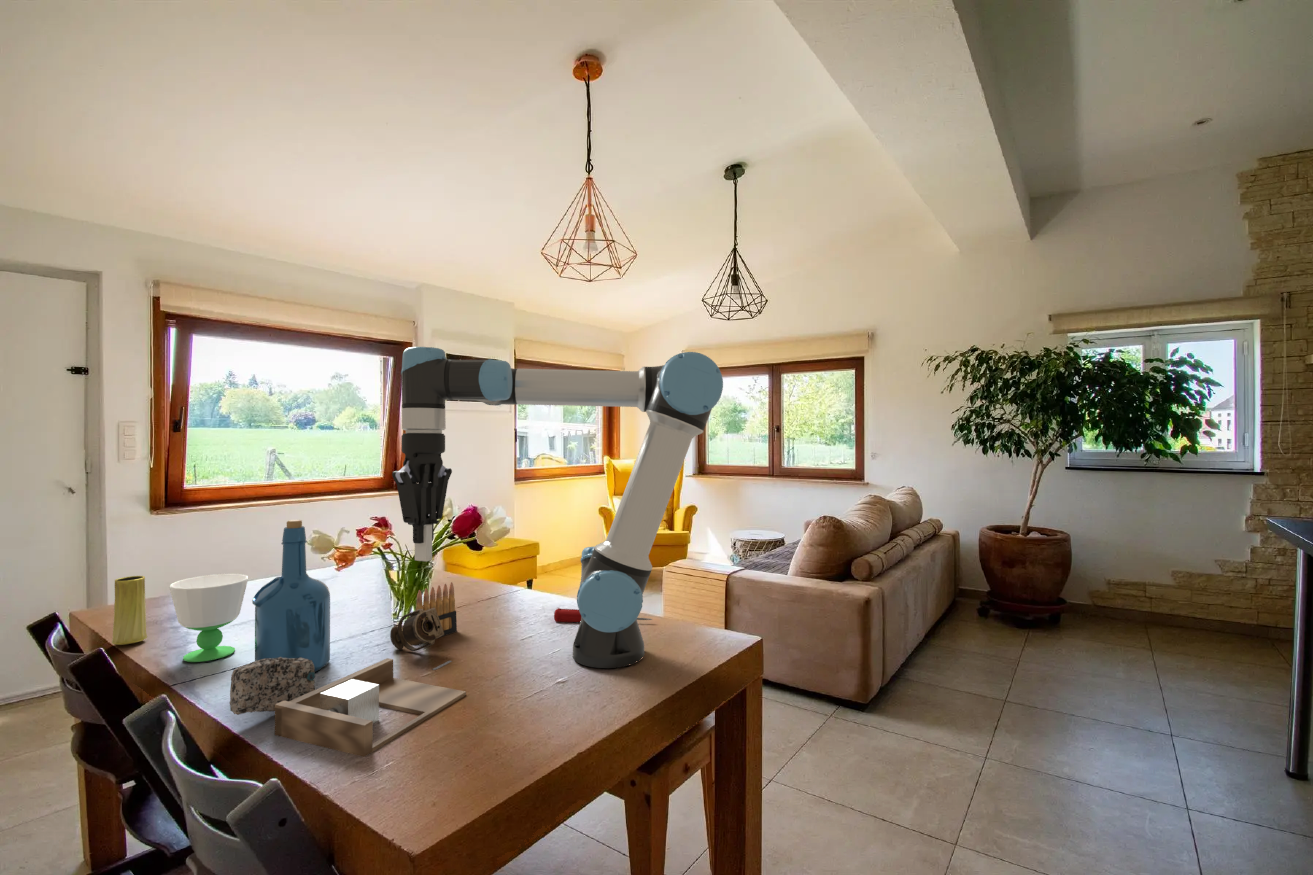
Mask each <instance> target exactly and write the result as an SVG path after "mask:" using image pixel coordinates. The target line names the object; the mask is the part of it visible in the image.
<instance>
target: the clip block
mask: <svg viewBox="0 0 1313 875" xmlns="http://www.w3.org/2000/svg"><path fill="white" fill-rule="evenodd" d="M320 709H323V710H327V711H332V712H336V713H340V714H345V715H349V716H354V717H358V718H362V719H367V720H371V721H373V724H375V723H377V722H379V720H380V706H379V684H374V683H369V682H364V681H359V680H354V679H351V680H349V681H347V682H344V683H342V684H340V685H338V686H335V687H333V688H331V689H329V690H326V691H324V692H322V693H320Z"/></svg>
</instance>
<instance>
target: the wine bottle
mask: <svg viewBox="0 0 1313 875" xmlns="http://www.w3.org/2000/svg"><path fill="white" fill-rule="evenodd" d="M305 527H306V526H303V520H302V519H289V520H288V521H286V527H284V528H283V533H282V540H281V545H282V554H281V555H282V558H281V575H280V576H276V577H275V578H273V579H272V580H270V581H269V582H267V583H266V584H264V585H263V586H262V587H260V589H258V590H257V592H256V593H255V595H254V596H253V597H252V600H251V602H252V605H254V661H257V660H262V659H267V658H278V657H282V658H288V659H289V658H300V657H301V658H304V659H308V660H312V662H313V664H314V672H318V671H320V670H321V669H323V668H324V667H326V666H327V665H329V662H330V660H331V591H330V589H329V587H328V586H327V584H326V583H325V582H323V581H321V580H320V579H316V578H313V577H311V576H310V575H309V574H308V573H307V554H306V553H307V551H306V544H307V542H308V541H307V535H306V529H305Z"/></svg>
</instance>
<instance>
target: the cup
mask: <svg viewBox="0 0 1313 875" xmlns="http://www.w3.org/2000/svg"><path fill="white" fill-rule="evenodd" d="M248 581H249V576H248V575H247V574H243V573H219V574H218V573H217V574H209V575H208V574H207V575H199V576H193V577H188V578H184V579H180V580H176V581H175V582H173V583H170V585H169V587H168V588H169V591H170V595H171V599H172V603H173V607H174V610H175V614H176V618H177V622H178V624H180V626H181V627H184V628H186V629H187V630H192V631H199V633H198V635H197V636H196V639H195V640H196V645H197V646H198V647H199V648H200V649H196V650H193V651H190V652H188V653H186V654H185V655H184V656H183V658H182V661H185V662H188V663H201V662H208V661H215V660H217V659H223V658H225V657H228V656H230V655H233V653H234V652H236V648H235V647H233V646H230V645H221V643H222V641H223V638H224V636H223V632H222V631H221V629H220V628H223V627H224V626H227V625H229V624H231V623H232V622H234V621H235V620H236V619H237V618H238V617H239V616H240V614H241V610H242V605H243V602H244V596H245V594H246V589H247V586H248Z"/></svg>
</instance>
